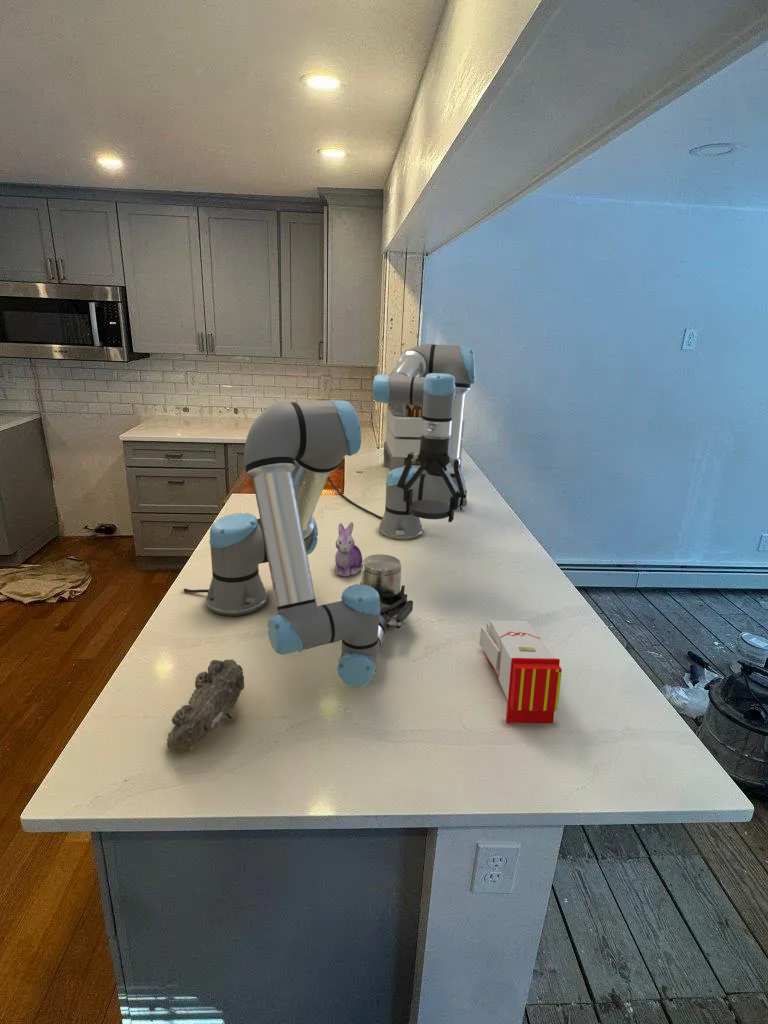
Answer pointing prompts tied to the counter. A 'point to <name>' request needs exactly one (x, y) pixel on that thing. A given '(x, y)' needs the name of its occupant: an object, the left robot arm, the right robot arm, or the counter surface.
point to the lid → (429, 509)
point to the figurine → (347, 552)
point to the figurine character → (463, 502)
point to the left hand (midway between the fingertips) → (382, 587)
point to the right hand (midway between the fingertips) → (429, 517)
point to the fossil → (206, 705)
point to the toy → (523, 670)
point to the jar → (382, 577)
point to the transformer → (404, 434)
